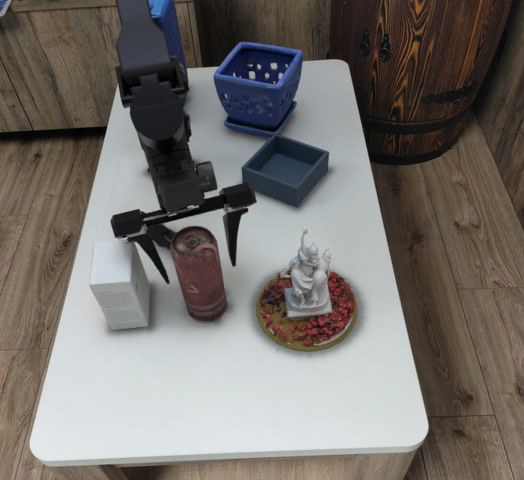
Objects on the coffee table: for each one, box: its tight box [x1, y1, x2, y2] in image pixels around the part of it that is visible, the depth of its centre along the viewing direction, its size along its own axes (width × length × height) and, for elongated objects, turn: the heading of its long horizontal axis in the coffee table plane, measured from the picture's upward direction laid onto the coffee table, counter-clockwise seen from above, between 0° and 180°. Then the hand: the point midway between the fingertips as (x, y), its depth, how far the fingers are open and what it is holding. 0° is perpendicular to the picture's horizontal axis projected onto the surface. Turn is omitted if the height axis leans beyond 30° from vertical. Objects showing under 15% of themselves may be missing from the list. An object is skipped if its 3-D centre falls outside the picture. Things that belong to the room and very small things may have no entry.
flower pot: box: [213, 41, 304, 139], centre depth 94 cm, size 13×13×12 cm
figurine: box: [255, 228, 359, 352], centre depth 68 cm, size 15×15×14 cm
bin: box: [240, 133, 330, 208], centre depth 88 cm, size 11×11×4 cm
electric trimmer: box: [140, 210, 177, 251], centre depth 81 cm, size 4×16×3 cm, turn 45°
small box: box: [88, 238, 151, 331], centre depth 71 cm, size 8×6×10 cm
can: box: [169, 225, 228, 323], centre depth 69 cm, size 6×6×14 cm
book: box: [148, 0, 189, 109], centre depth 95 cm, size 14×5×20 cm, turn 178°
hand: (201, 275), depth 68 cm, fingers open, 9 cm apart
